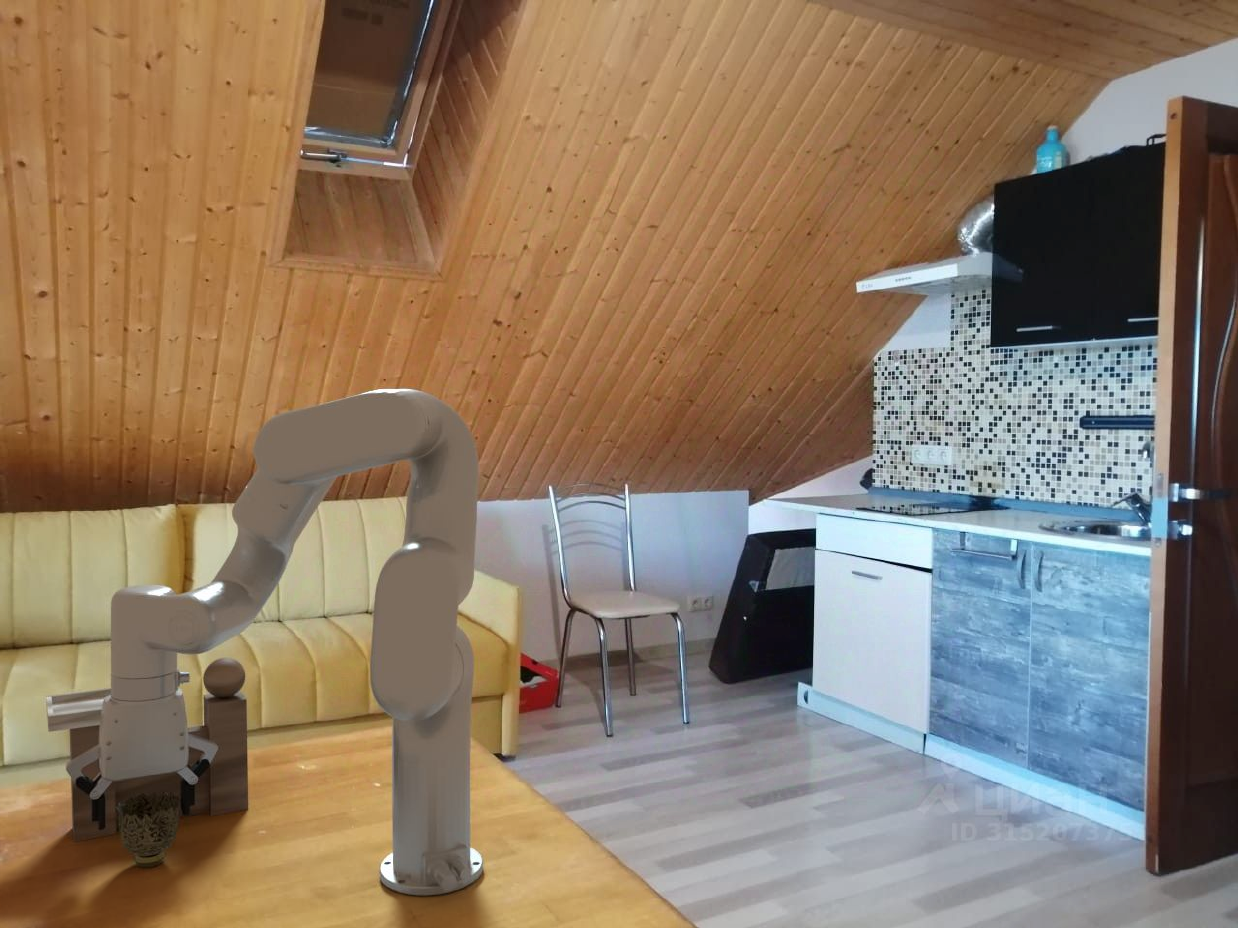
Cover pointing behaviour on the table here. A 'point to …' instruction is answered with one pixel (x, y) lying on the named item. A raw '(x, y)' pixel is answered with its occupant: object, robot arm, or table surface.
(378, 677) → the robot arm
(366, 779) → the table surface
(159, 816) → the cup
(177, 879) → the table surface
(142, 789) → the headboard
